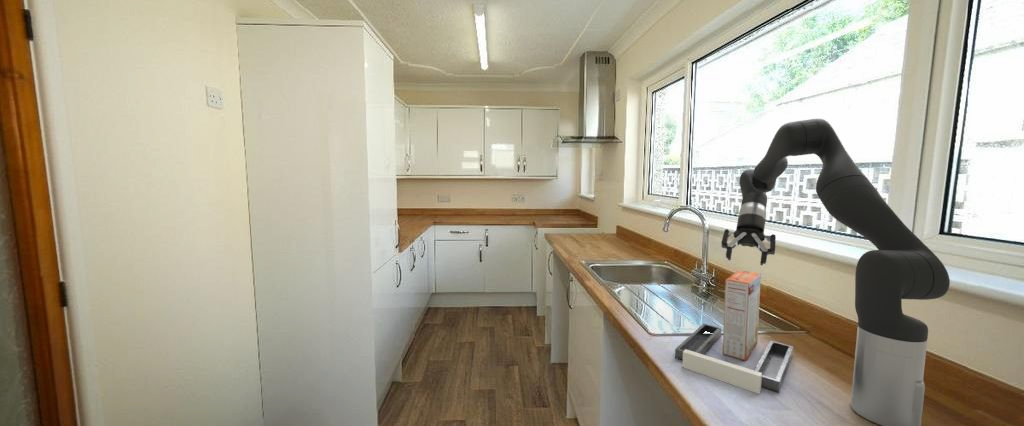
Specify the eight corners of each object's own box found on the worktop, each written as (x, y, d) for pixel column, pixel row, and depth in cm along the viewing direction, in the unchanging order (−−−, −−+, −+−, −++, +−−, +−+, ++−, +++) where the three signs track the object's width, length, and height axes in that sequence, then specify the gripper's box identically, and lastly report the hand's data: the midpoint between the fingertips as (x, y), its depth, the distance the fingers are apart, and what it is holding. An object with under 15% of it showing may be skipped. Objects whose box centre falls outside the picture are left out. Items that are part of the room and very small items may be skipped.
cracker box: (733, 338, 105) (737, 269, 103) (758, 344, 101) (762, 273, 99) (720, 354, 95) (724, 278, 93) (746, 362, 91) (751, 282, 89)
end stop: (760, 390, 78) (762, 373, 78) (759, 394, 77) (760, 376, 77) (685, 364, 90) (685, 349, 89) (682, 367, 88) (682, 351, 88)
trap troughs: (792, 355, 95) (793, 346, 94) (778, 393, 77) (779, 382, 77) (703, 331, 110) (703, 323, 110) (674, 358, 93) (675, 349, 92)
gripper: (726, 210, 118) (718, 251, 112) (779, 214, 110) (774, 259, 103) (726, 222, 123) (719, 263, 117) (777, 227, 115) (772, 271, 108)
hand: (745, 261), depth 110 cm, fingers open, 8 cm apart
